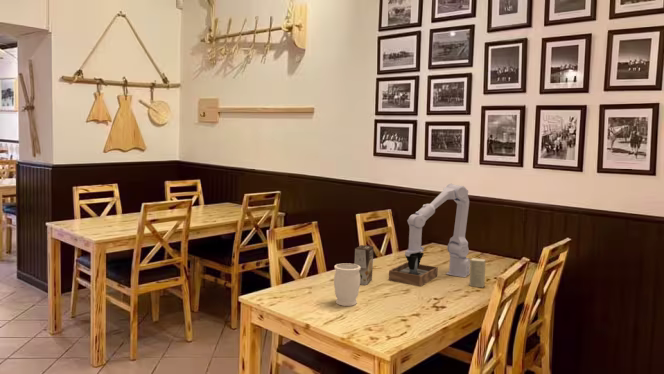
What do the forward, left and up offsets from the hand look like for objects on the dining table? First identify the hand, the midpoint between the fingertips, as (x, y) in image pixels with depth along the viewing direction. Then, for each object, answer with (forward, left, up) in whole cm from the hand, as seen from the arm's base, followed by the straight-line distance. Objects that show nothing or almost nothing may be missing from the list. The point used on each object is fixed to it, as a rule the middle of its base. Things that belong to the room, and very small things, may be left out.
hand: (413, 268), depth 251 cm
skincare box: (-28, -7, -5) cm, 29 cm away
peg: (0, 0, -2) cm, 2 cm away
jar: (+7, +50, -5) cm, 51 cm away
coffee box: (+16, +20, -5) cm, 26 cm away
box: (0, 0, -5) cm, 5 cm away
